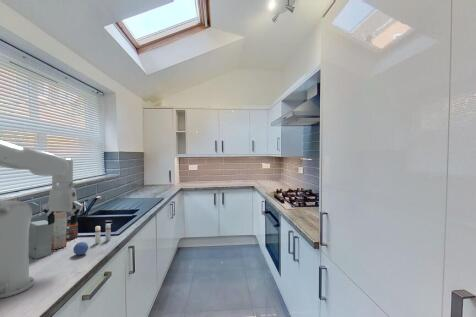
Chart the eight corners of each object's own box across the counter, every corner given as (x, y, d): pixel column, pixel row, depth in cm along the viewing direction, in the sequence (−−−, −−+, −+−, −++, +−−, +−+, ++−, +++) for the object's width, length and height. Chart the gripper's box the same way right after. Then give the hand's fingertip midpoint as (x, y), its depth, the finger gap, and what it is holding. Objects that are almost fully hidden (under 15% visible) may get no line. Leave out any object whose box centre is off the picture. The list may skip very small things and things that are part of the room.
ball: (83, 257, 112) (83, 244, 112) (70, 257, 112) (70, 244, 112) (90, 252, 118) (90, 240, 118) (78, 252, 118) (78, 240, 118)
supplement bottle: (69, 240, 133) (69, 220, 133) (62, 238, 136) (62, 219, 136) (80, 237, 139) (80, 218, 139) (73, 235, 141) (73, 216, 141)
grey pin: (109, 241, 133) (109, 225, 133) (104, 241, 133) (104, 225, 133) (111, 239, 136) (111, 223, 136) (106, 239, 136) (106, 223, 135)
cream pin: (98, 244, 129) (98, 227, 129) (94, 244, 129) (94, 227, 129) (101, 242, 132) (101, 226, 131) (96, 242, 131) (96, 226, 131)
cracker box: (67, 246, 125) (67, 206, 124) (52, 250, 120) (52, 208, 120) (61, 240, 134) (61, 202, 134) (47, 242, 130) (47, 204, 130)
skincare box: (26, 255, 113) (26, 222, 113) (44, 250, 120) (44, 219, 119) (35, 259, 109) (35, 225, 109) (53, 254, 116) (53, 221, 115)
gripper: (87, 184, 111) (87, 221, 111) (48, 184, 110) (48, 221, 110) (77, 186, 103) (77, 226, 103) (35, 186, 102) (35, 226, 103)
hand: (62, 223), depth 107 cm, fingers open, 9 cm apart
